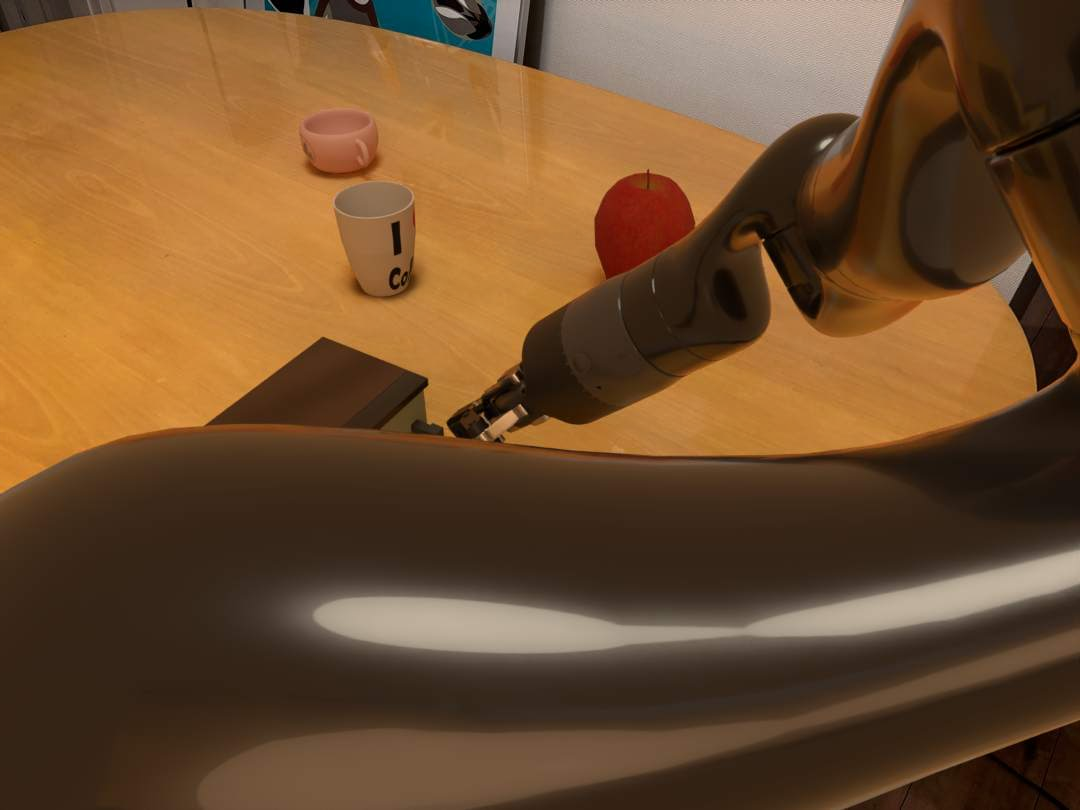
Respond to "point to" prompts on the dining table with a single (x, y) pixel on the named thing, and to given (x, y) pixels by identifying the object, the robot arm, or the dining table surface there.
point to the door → (413, 419)
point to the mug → (339, 139)
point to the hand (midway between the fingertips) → (459, 427)
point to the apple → (640, 221)
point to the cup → (378, 234)
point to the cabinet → (328, 391)
